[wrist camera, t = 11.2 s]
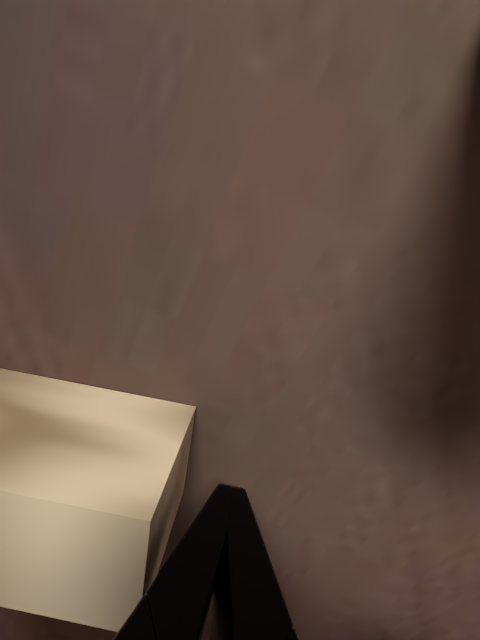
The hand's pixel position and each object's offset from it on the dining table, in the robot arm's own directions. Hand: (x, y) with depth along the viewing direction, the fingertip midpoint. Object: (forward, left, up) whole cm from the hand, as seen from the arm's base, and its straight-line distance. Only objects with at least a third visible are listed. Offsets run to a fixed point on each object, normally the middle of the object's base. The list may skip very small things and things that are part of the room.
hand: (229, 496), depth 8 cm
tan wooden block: (0, +7, -2) cm, 7 cm away
